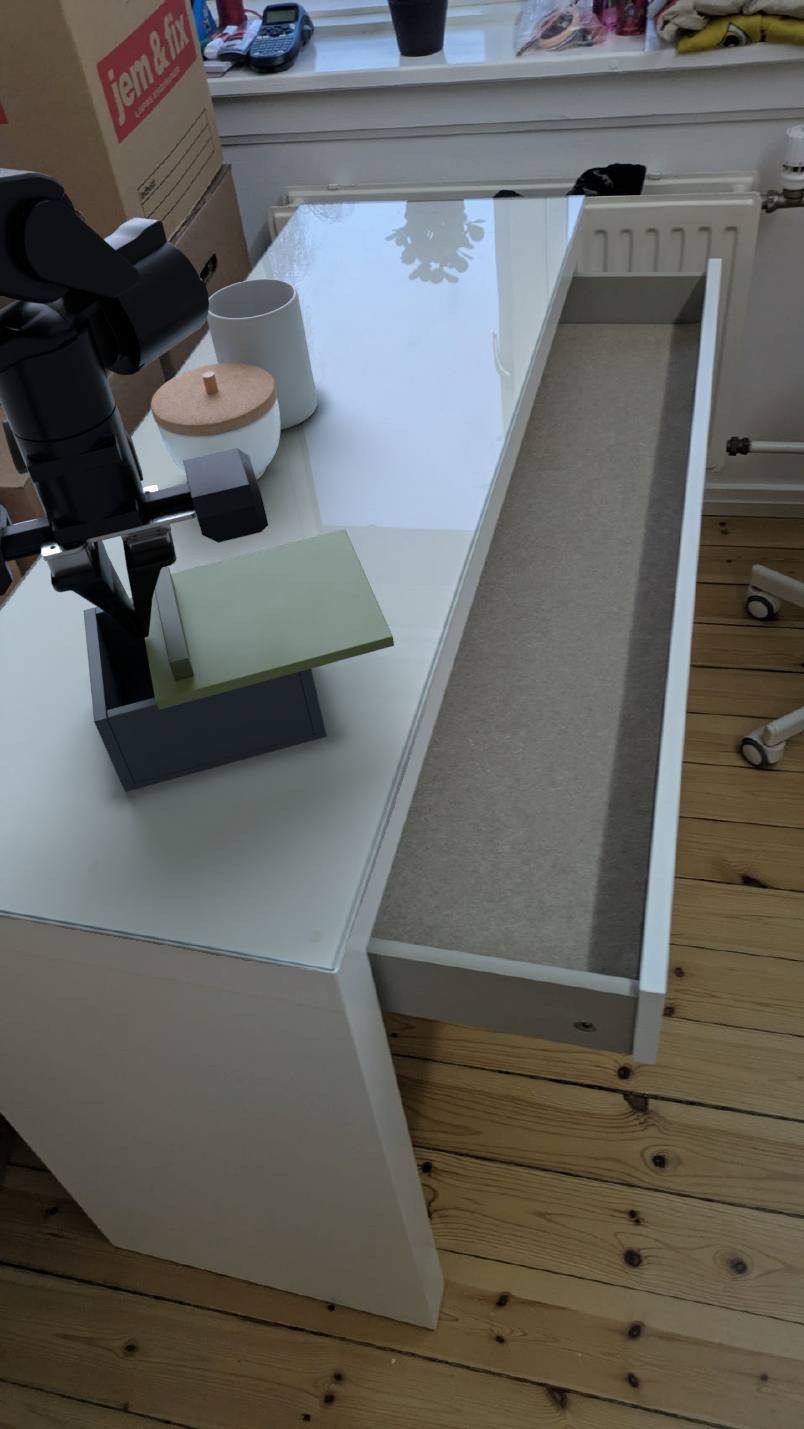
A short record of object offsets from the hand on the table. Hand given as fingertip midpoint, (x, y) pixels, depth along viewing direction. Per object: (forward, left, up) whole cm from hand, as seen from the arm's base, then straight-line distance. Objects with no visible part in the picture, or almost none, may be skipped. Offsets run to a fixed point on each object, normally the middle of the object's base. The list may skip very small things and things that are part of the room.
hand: (142, 634), depth 70 cm
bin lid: (+8, 0, -1) cm, 8 cm away
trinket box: (+9, +30, -8) cm, 32 cm away
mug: (+15, +41, -8) cm, 44 cm away
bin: (+3, 0, -8) cm, 8 cm away
